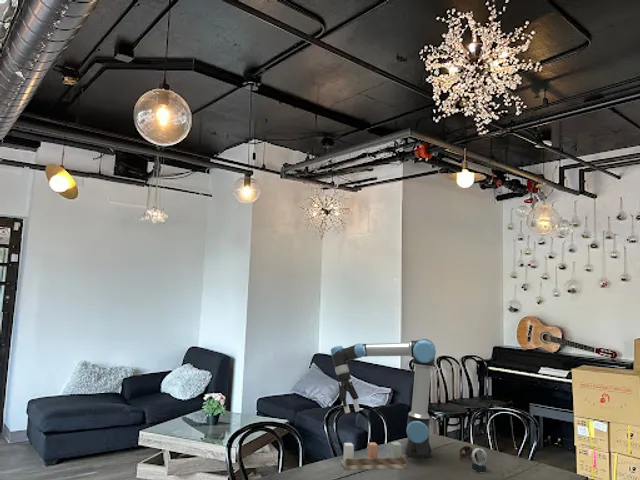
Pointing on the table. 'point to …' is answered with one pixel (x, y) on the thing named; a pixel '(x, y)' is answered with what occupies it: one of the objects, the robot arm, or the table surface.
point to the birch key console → (374, 463)
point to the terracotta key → (372, 450)
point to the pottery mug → (467, 452)
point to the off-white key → (348, 451)
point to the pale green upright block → (395, 450)
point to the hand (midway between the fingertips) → (352, 412)
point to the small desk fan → (479, 466)
